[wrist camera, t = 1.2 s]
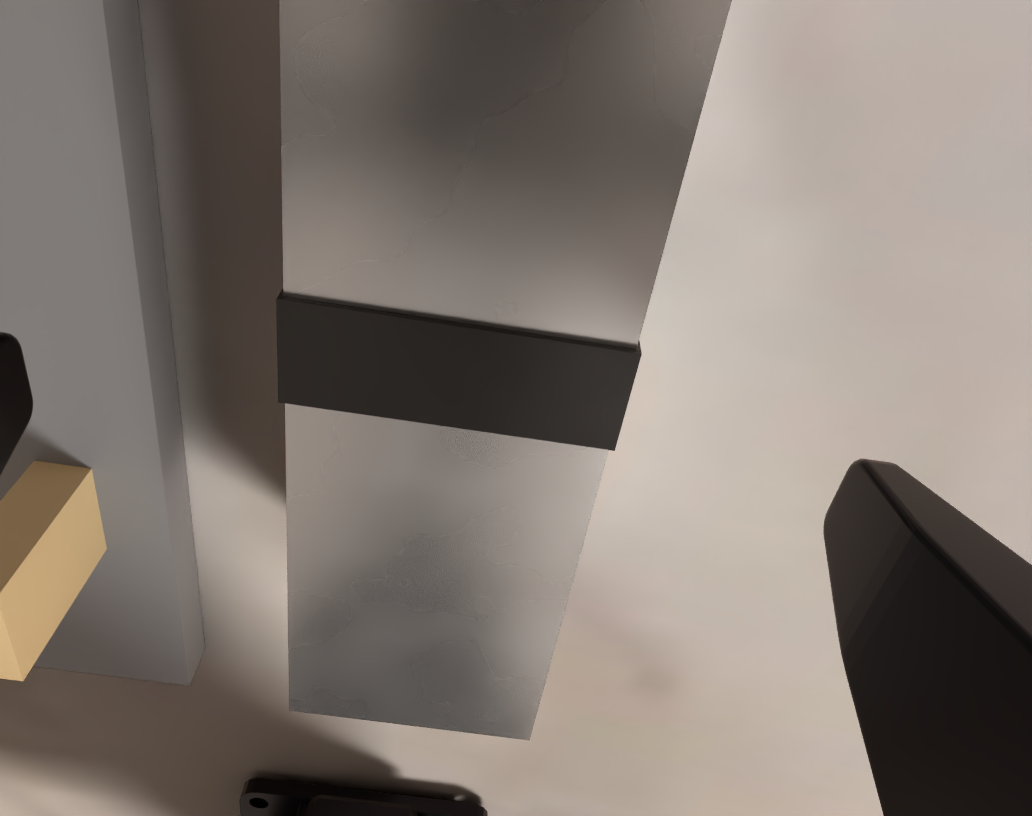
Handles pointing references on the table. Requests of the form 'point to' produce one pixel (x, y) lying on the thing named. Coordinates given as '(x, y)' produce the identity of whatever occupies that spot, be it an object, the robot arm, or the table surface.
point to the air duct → (463, 326)
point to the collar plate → (89, 359)
